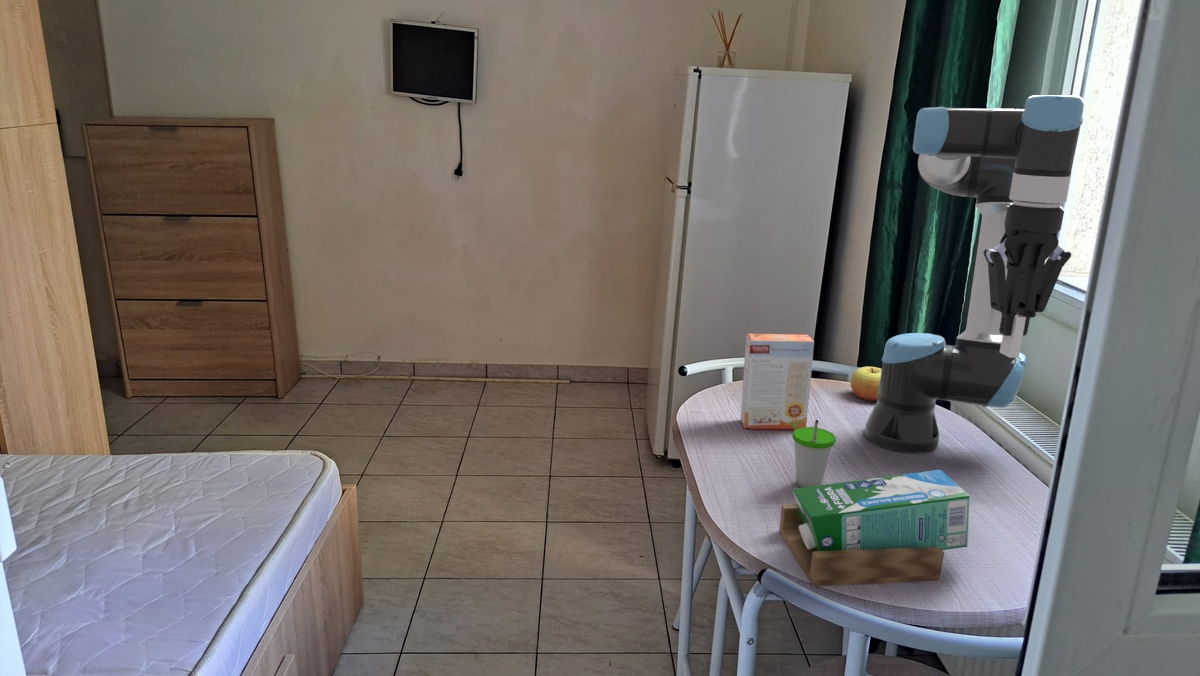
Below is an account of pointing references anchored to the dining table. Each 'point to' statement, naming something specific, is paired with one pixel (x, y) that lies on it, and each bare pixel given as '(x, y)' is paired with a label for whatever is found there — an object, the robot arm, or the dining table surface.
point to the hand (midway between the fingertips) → (1008, 354)
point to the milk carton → (885, 513)
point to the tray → (859, 560)
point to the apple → (866, 383)
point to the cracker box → (776, 381)
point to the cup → (812, 454)
